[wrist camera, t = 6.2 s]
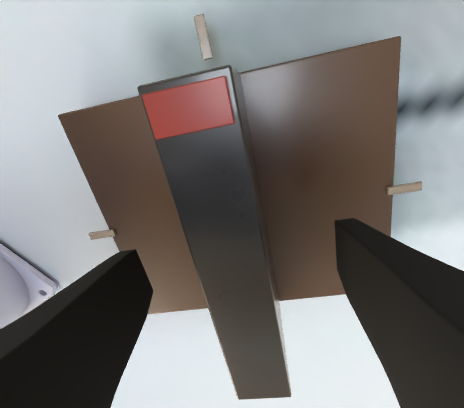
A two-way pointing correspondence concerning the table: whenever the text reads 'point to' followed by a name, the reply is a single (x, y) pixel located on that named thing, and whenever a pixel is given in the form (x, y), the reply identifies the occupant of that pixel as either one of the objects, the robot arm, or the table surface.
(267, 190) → the base
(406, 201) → the table surface
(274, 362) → the red tipped gray strip
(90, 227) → the table surface
